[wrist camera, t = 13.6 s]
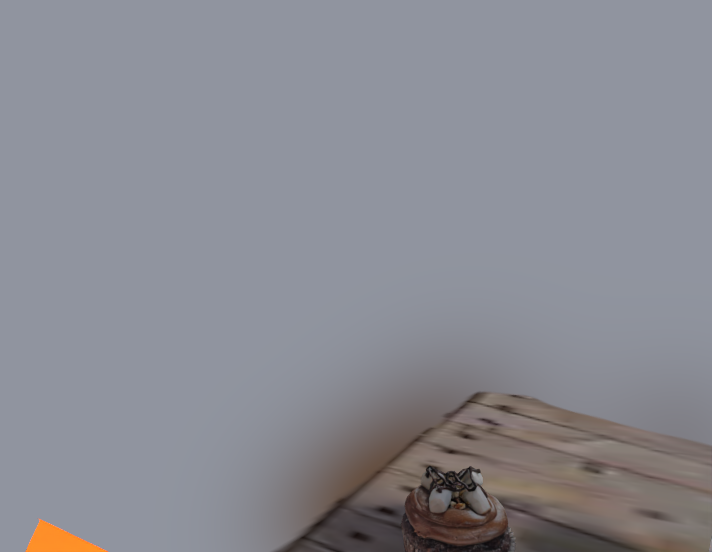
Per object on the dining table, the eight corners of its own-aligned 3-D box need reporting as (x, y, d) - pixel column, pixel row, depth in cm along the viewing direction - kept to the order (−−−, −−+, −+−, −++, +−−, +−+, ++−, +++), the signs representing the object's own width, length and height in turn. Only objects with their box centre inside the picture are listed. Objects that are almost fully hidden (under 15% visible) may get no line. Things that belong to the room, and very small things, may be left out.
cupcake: (421, 627, 53) (432, 513, 51) (385, 553, 62) (392, 453, 60) (530, 611, 55) (544, 502, 53) (479, 542, 64) (490, 446, 62)
